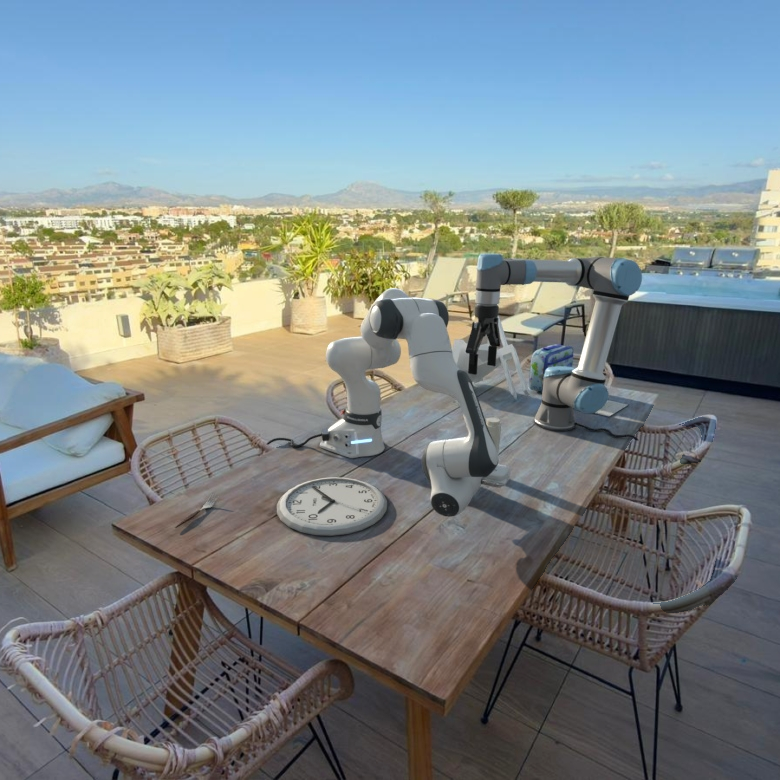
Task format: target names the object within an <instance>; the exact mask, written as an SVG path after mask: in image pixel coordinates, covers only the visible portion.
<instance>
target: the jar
mask: <svg viewBox="0 0 780 780" xmlns="http://www.w3.org/2000/svg"><path fill="white" fill-rule="evenodd" d="M485 421H486V424H487V427H488V430H489V432H490V435H491V437H492V439H493V441H494V444H495V446H496V449H497V452H498V455H499V453H500V444H501V443H500V442H501V430H502V424H501V420H500V419H499V418H498V417H486V418H485Z"/></svg>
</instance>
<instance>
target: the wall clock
mask: <svg viewBox="0 0 780 780" xmlns="http://www.w3.org/2000/svg"><path fill="white" fill-rule="evenodd" d="M387 509H388V500H387V498H386V496H385V494H384V493H383V492H382V491H381V490H380V489H379V488H377V487H376V486H374V485H372V484H371V483H369V482H365V481H362V480H359V479H355V478H349V477H338V476H337V477H335V476H333V477H332V476H331V477H322V478H317V479H312V480H307V481H305V482H302V483H299V484H297V485H295V486H293V487H292V488H290V489H288V490H287V491H286V492H285V493H284V494H283V495H281V496H280V498H279V499H278V502H277V503H276V515H277V517H278V518H279V520H280V521H281V522H282V523H283V524H285V525H286V526H287V527H288V528H290V529H293V530H295V531H297V532H299V533H303V534H308V535H312V536H327V537H328V536H329V537H331V536H332V537H333V536H342V535H350V534H352V533H356V532H361V531H363V530H366V529H368V528H369V527H372V526H373V525H375V524H376V523H378V522H379V521H380V520H381V519H382V518H383V517H384V516H385V514H386V512H387Z"/></svg>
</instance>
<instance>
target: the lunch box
mask: <svg viewBox="0 0 780 780" xmlns="http://www.w3.org/2000/svg"><path fill="white" fill-rule="evenodd" d="M530 359H531V360H530V366H529V377H528V379H529V380H528V387H529V390H531V391H536V392H541V393H542V391H543V381H544V374H545V370H546V369H547V368H549V367H556V366H565V367H573V363H574V347H572V346H568V345H562V344H551V345H547V346H545V347H541V348H539V349H536V350H534V352H533V353H532V355H531V358H530Z"/></svg>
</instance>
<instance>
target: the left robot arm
mask: <svg viewBox="0 0 780 780" xmlns="http://www.w3.org/2000/svg"><path fill="white" fill-rule="evenodd" d="M449 320H450V315H449V311H448V308H447V306H446V304H445V303H444V302H443V301H441V300H438V299H435V298H421V297H409V296H408V294H407V293H406V292H405V291H403V290H402V289H400V288H395V287H393V288H392V287H391V288H387V289H386V290H384V291H382V293H380V295H379V296H378V297H377V298H376V299H375V301H373V303H372V304H371V306H370V308H369V309H368V311H367V313H366V315H365V316H364V318H363V320H362V321H361V324H360V335H361V336H353V337H344V338H340V339H336V340H334V341H331V342H330V343H329V344H328V346H327V348H326V351H325V361H326V364H327V366H328V367H329V368H330V369H331V370H332V371H334V372H335V373H336V374H338V376H340V378H341V379H342V381H343V383H344V385H345V389H346V403H347V407H345V408H343V410H342V411H340V416H342V418H340V419H339V420H337V421H336V422H335V423H333V424H332V425H331V426H330V427H328V428H321V429H320V433H319V434H314V435H312V436H309V437H308V438H306V440H305V441H302V442H301V443H299V444H294V440H293V439H292V438H286V437H276V438H273V439H271V440H269V441H268V442H266V444H265V445H267V446H269V445H270V444H272V443H273V442H276V441H285V442H286V441H287V442H290V447H292V448H300V447H303V446H304V445H307V443H309V442H310V441H311V440H313V439H316V438H319V437H321V441H320V443H319V448H320V449H323V450H326V451H329V452H331V453H335V454H337V455H341V456H343V457H346V458H349V459H356V458H359V457H371V456H375V455H376V456H377V455H379V454H381V453H382V452H383V451H384V450H385V449H386V447H385V444H384V440H383V434H382V421H383V416H382V408H381V393H382V392H381V388H380V385H379V384H378V383H377V382H376V381H374V380H372V379H369V378H367V374H366V371H369V370H378V369H385V368H388V367H391V366H393V365H395V364H398V362H399V360H400V359H401V355H402V346H401V344H400V342H399V341H398V339H399V340H405V341H406V342H407V348H408V349H407V350H408V359H409V366H410V372H411V375H412V378H413V380H414V381H415V383H416V384H417V385H418V386H420V387H421V388H423V389H424V390H427V391H430V392H433V393H439V394H444V395H448V396H450V397H452V398H453V399H455V400H456V402H457V403H458V405H459V407H460V411H461V413H462V417H463V420H464V423H465V426H466V429H467V433H468V435H467V436H463V437H462V436H461V437H455V438H445V439H439V440H433V441H430V442H429V443H428V444H427V445H426V447H425V448H424V451H423V452H422V455H421V469H422V472H423V474H424V477H425V478H426V480H427V482H428V483H429V485H430V486H431V490H430V491H431V492H430V499H429V500H430V505H431V507H432V509H433V510H434V511H435V513H437V514H439V515H441V516H443V517H448V518H449V517H452V518H453V517H456V516H458V515H460V514H461V513H462V512H463V511H464V510H465V509H466V508H467V507H468V506H469V504H470V503H471V501H472V499H473V497H474V496H475V495H476V493H477V492H478V490H479V489H480V488H481V486H482V485H483V486H487V487H491V488H496V489H497V488H502V487H505V486H506V485H507V483H508V482H509V480H510V478H511V468H510V467H509V465H503V464H500V463H499V454H498V452H497V449H496V446H495V444H494V441H493V439H492V437H491V435H490V432H489V430H488V427H487V424H486V418H485V415H484V412H483V409H482V407H481V404H480V400H479V397H478V394H477V392H476V389H475V385H474V383H473V382H472V381H471V379H470V377H469V376H468V374H467V373H466V372H465V371H462V370H460V369H459V368H458V366H457V365H456V363H455V361H454V358H453V353H452V348H453V346H452V342H451V339H450V335H449V332H448V325H449Z"/></svg>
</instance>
